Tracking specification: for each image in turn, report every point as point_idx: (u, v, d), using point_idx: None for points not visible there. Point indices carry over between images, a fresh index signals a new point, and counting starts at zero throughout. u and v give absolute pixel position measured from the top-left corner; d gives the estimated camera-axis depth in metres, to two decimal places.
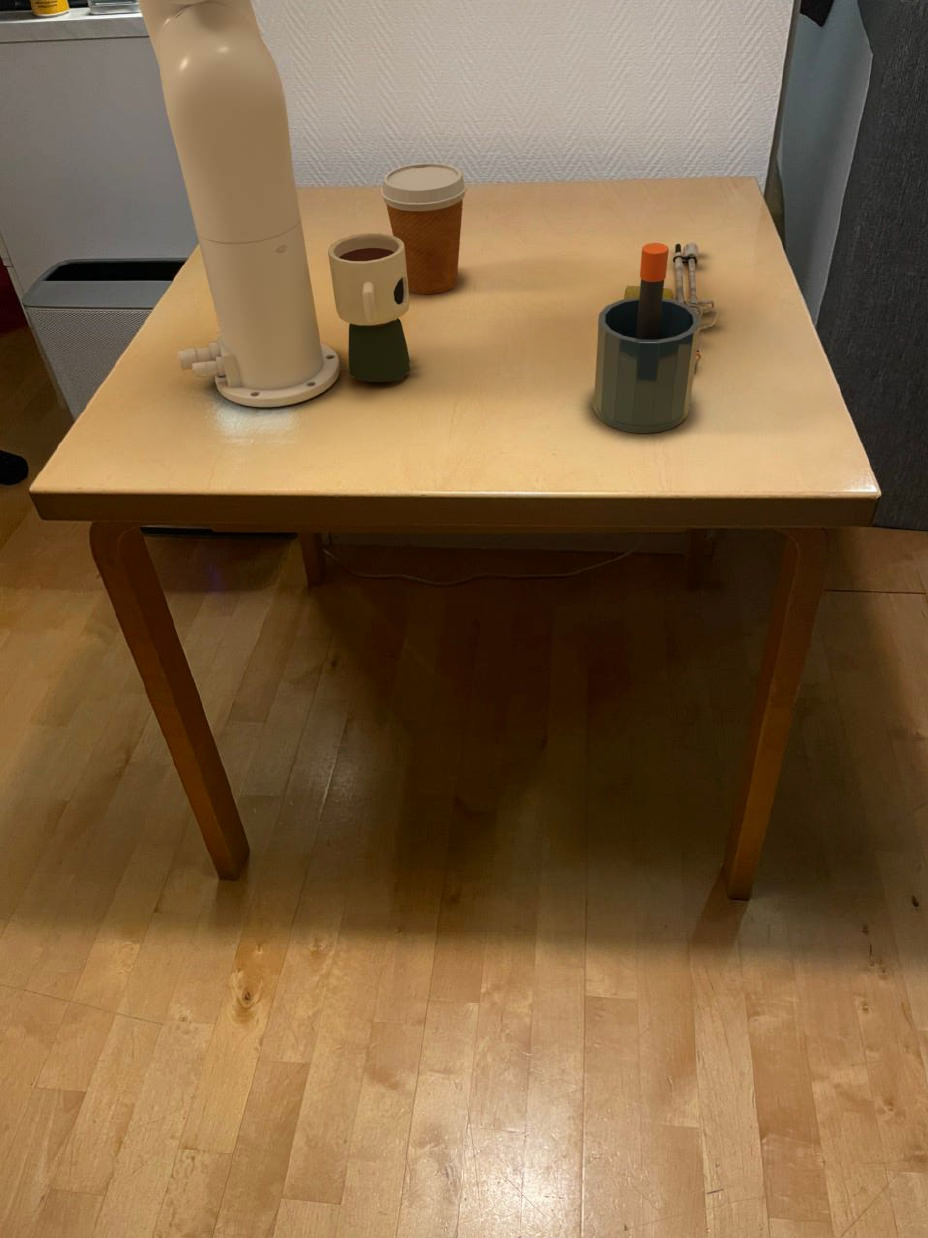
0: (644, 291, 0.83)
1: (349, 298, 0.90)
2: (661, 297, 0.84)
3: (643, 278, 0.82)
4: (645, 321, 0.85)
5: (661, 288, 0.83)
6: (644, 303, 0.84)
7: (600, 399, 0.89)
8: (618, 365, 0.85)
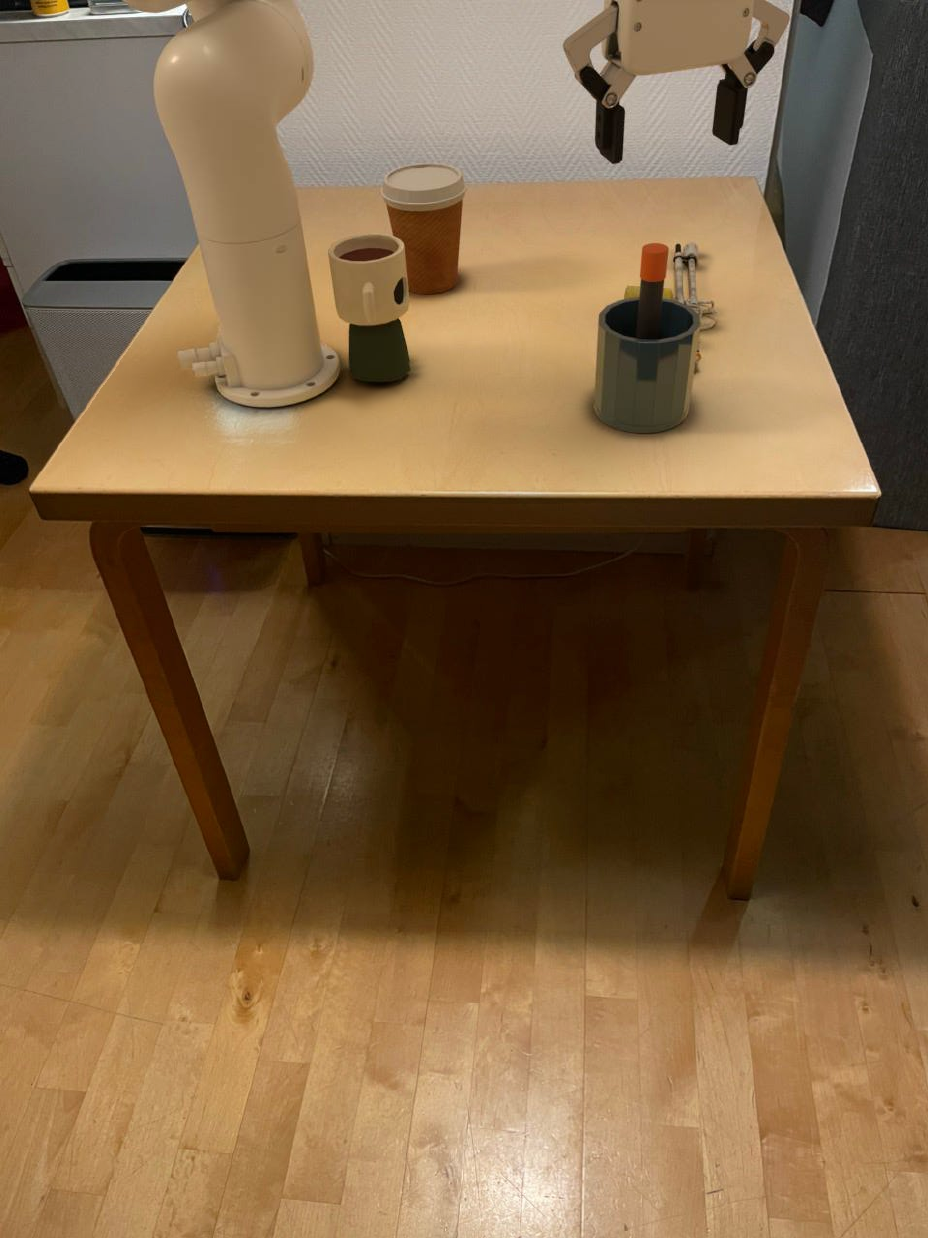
0: (644, 291, 0.83)
1: (349, 298, 0.90)
2: (661, 297, 0.84)
3: (643, 278, 0.82)
4: (645, 321, 0.85)
5: (661, 288, 0.83)
6: (644, 303, 0.84)
7: (600, 399, 0.89)
8: (618, 365, 0.85)
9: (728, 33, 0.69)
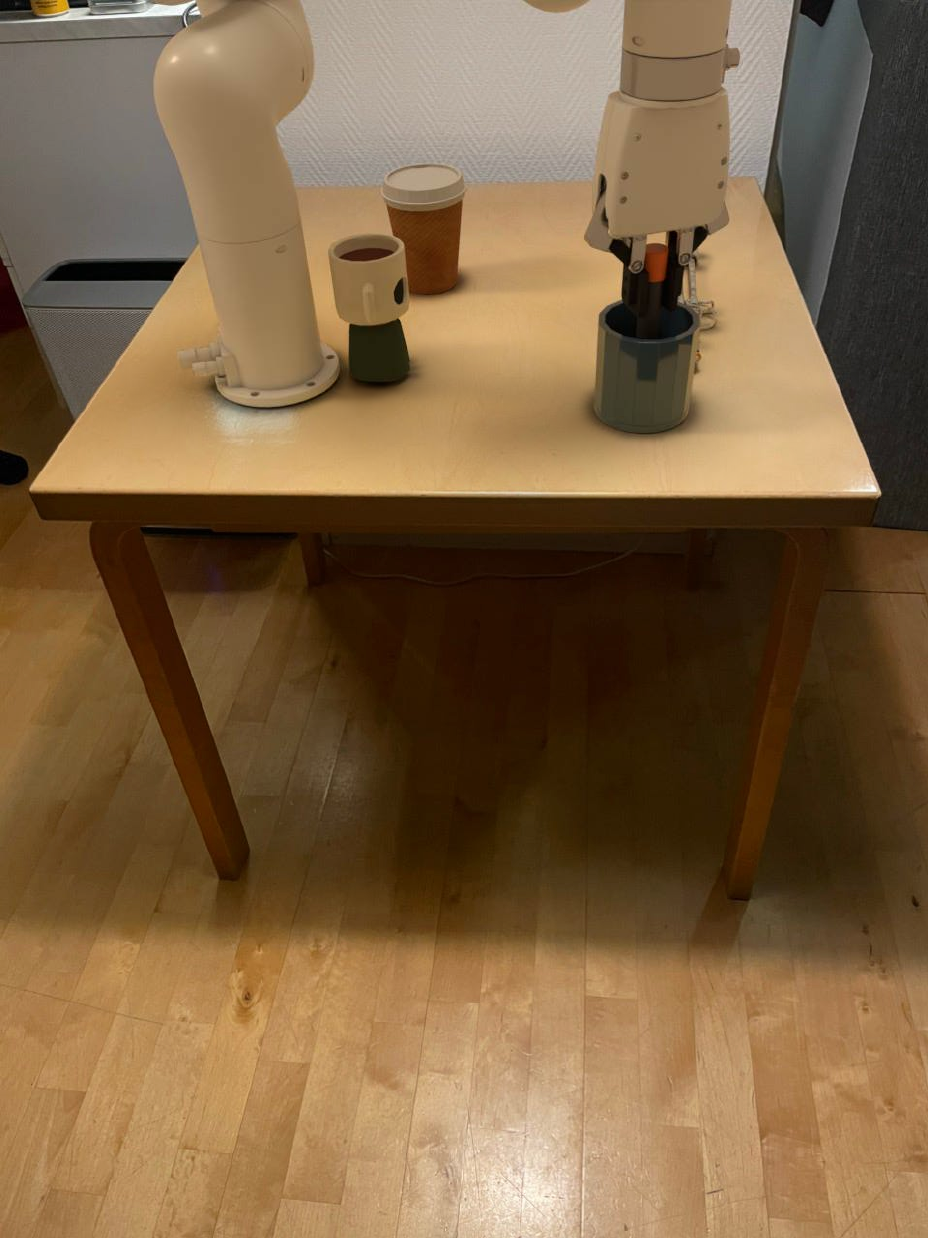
0: None
1: (349, 298, 0.90)
2: (661, 297, 0.84)
3: None
4: (645, 321, 0.85)
5: (661, 288, 0.83)
6: None
7: (600, 399, 0.89)
8: (618, 365, 0.85)
9: (705, 202, 0.77)
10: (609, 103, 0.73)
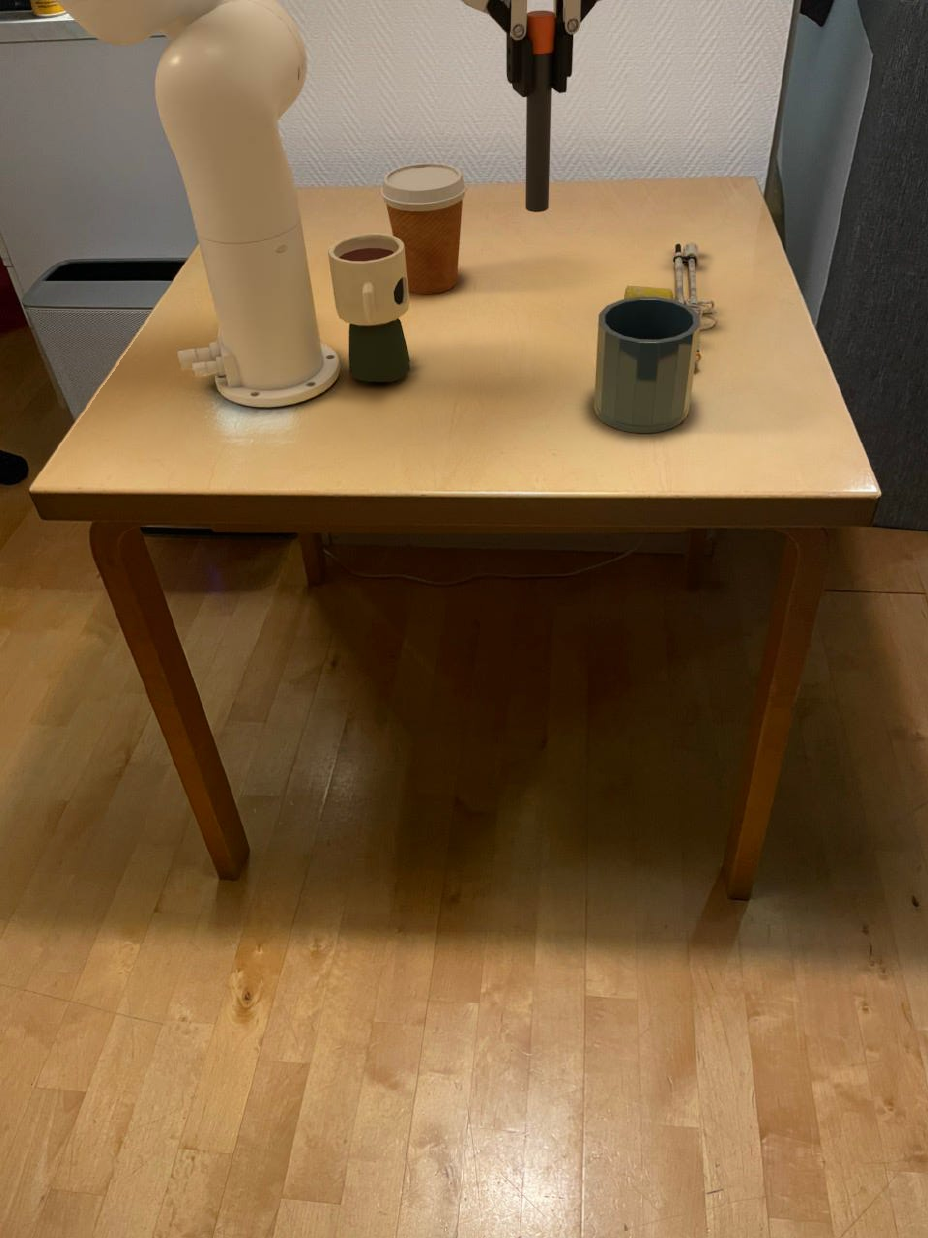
0: None
1: (349, 298, 0.90)
2: (550, 75, 0.76)
3: None
4: (533, 105, 0.77)
5: (549, 63, 0.75)
6: None
7: (600, 399, 0.89)
8: (618, 365, 0.85)
9: None
10: None
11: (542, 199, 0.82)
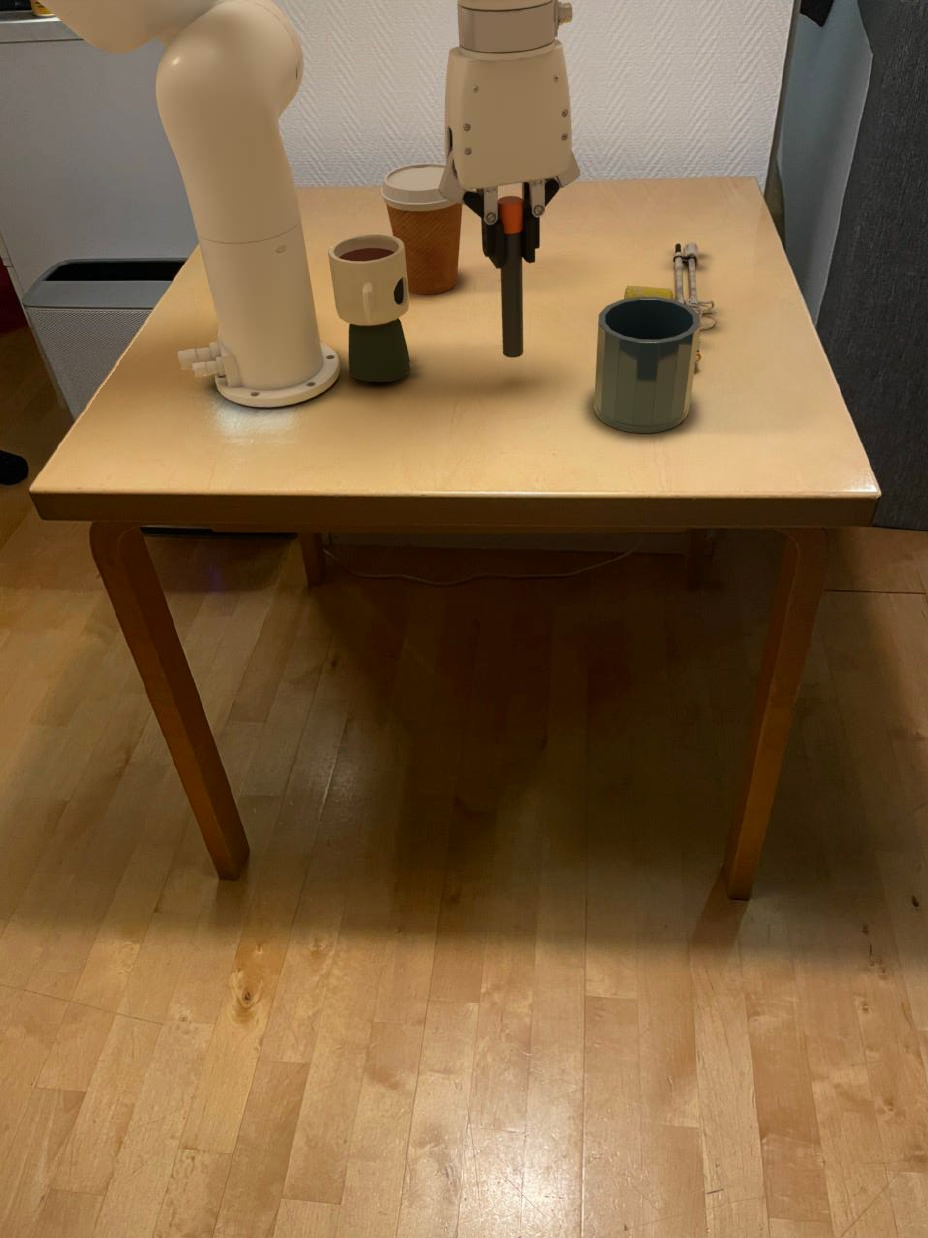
0: None
1: (349, 298, 0.90)
2: (520, 249, 0.87)
3: None
4: (506, 273, 0.88)
5: (519, 240, 0.86)
6: None
7: (600, 399, 0.89)
8: (618, 365, 0.85)
9: (550, 154, 0.80)
10: (449, 57, 0.76)
11: (517, 347, 0.93)
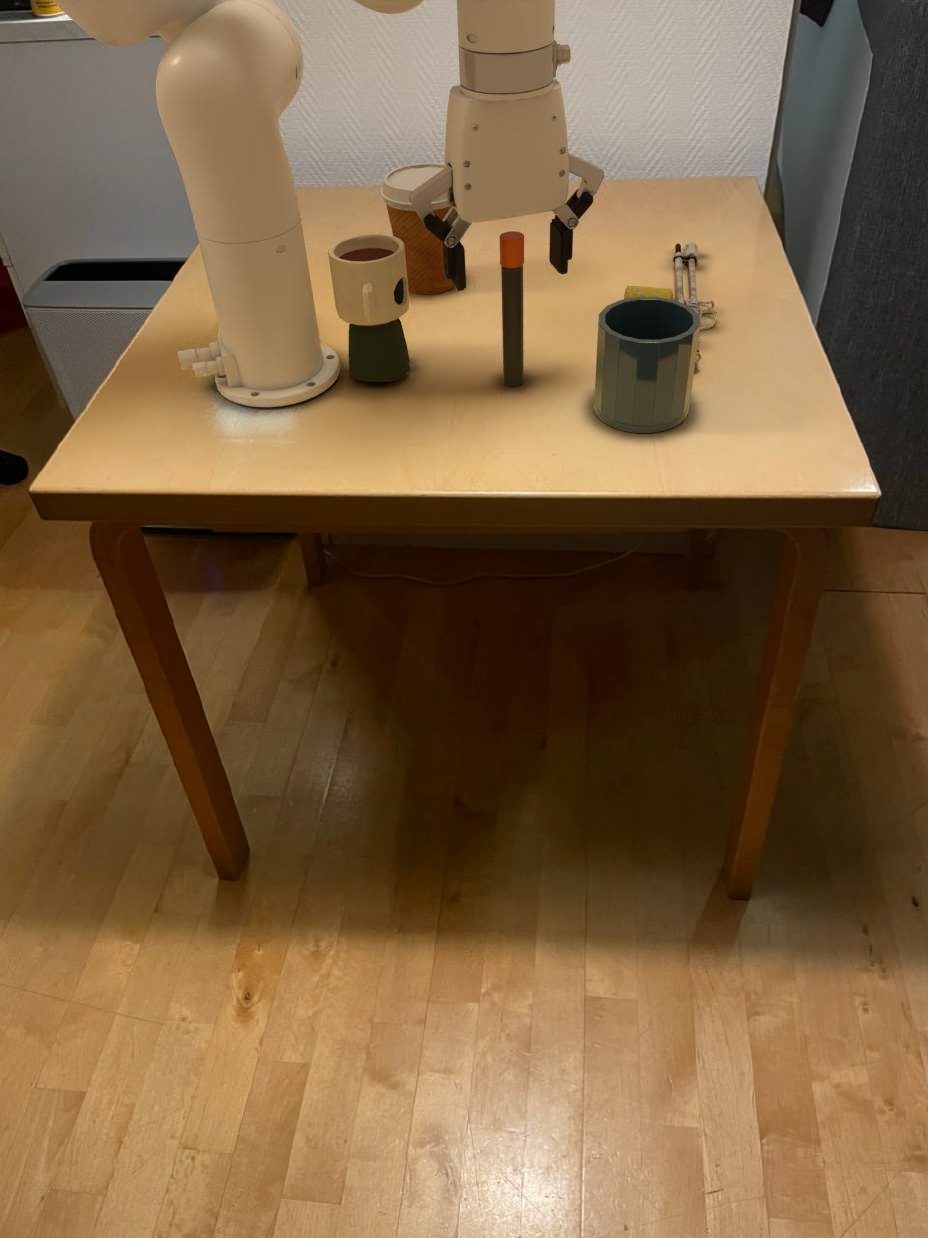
0: (504, 276, 0.88)
1: (349, 298, 0.90)
2: (521, 282, 0.89)
3: (502, 264, 0.88)
4: (508, 305, 0.90)
5: (520, 274, 0.88)
6: (505, 287, 0.89)
7: (600, 399, 0.89)
8: (618, 365, 0.85)
9: (548, 189, 0.82)
10: (450, 96, 0.78)
11: (517, 377, 0.95)
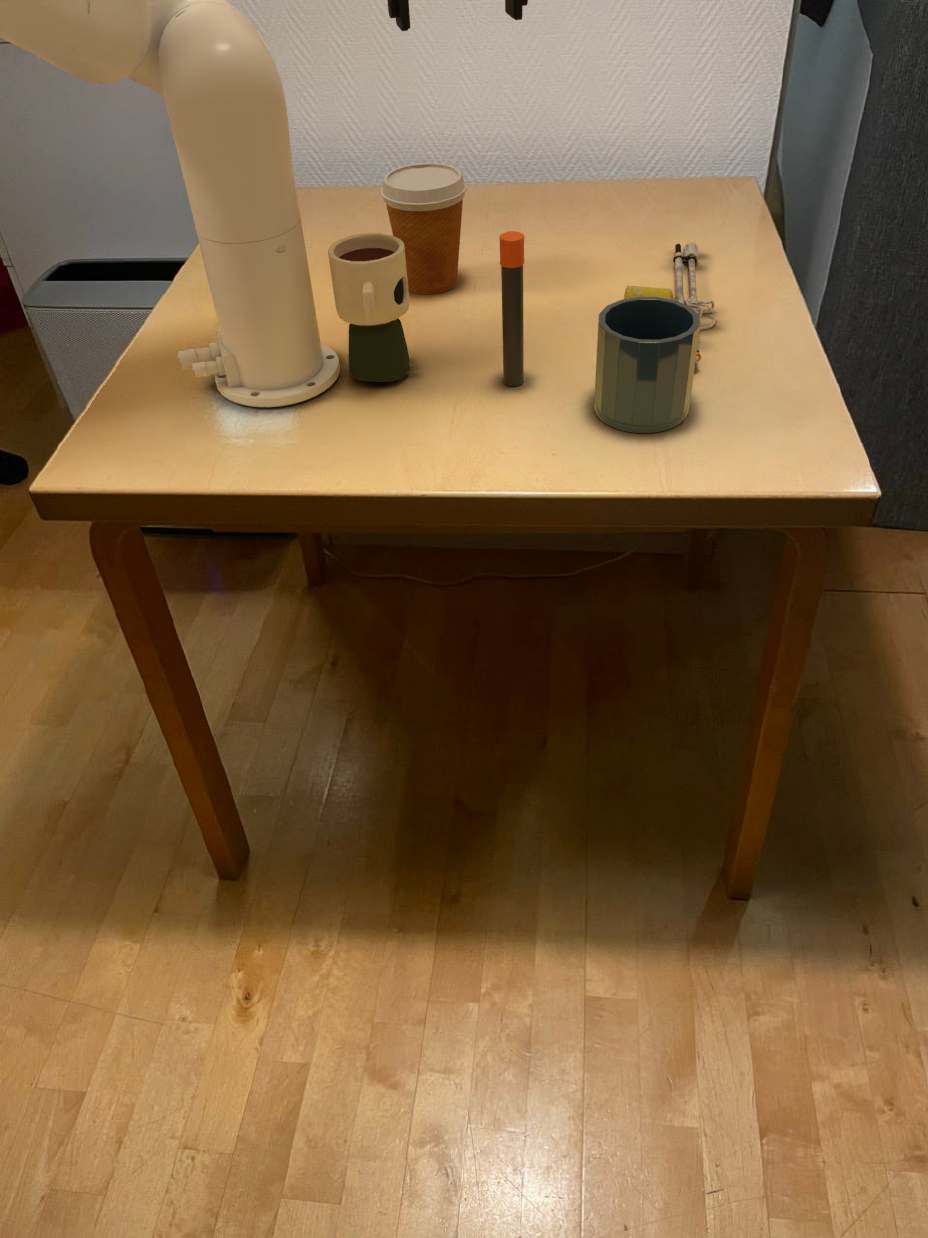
0: (504, 276, 0.88)
1: (349, 298, 0.90)
2: (521, 282, 0.89)
3: (502, 264, 0.88)
4: (508, 305, 0.90)
5: (520, 274, 0.88)
6: (505, 287, 0.89)
7: (600, 399, 0.89)
8: (618, 365, 0.85)
9: None
10: None
11: (517, 377, 0.95)
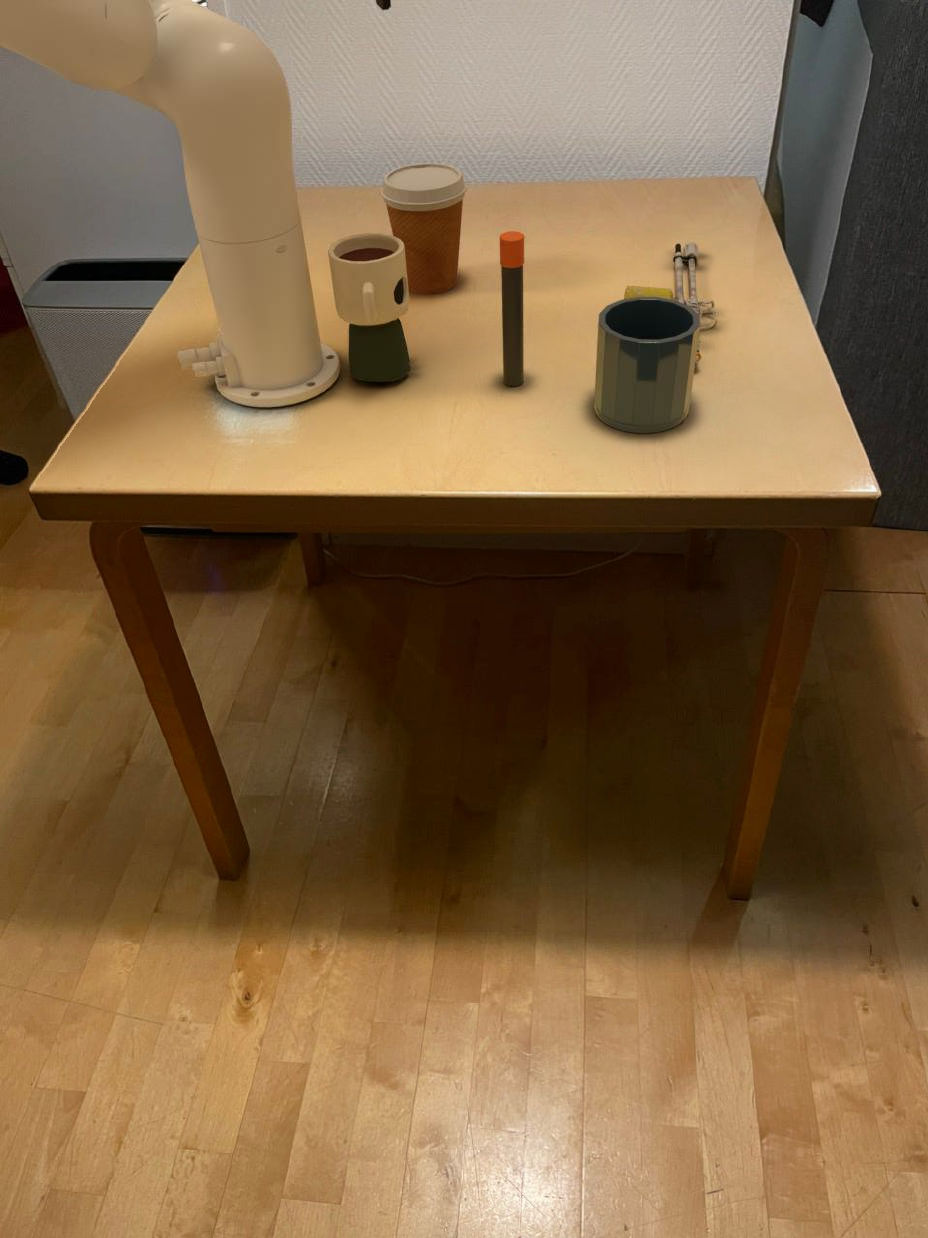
0: (504, 276, 0.88)
1: (349, 298, 0.90)
2: (521, 282, 0.89)
3: (502, 264, 0.88)
4: (508, 305, 0.90)
5: (520, 274, 0.88)
6: (505, 287, 0.89)
7: (600, 399, 0.89)
8: (618, 365, 0.85)
9: None
10: None
11: (517, 377, 0.95)
